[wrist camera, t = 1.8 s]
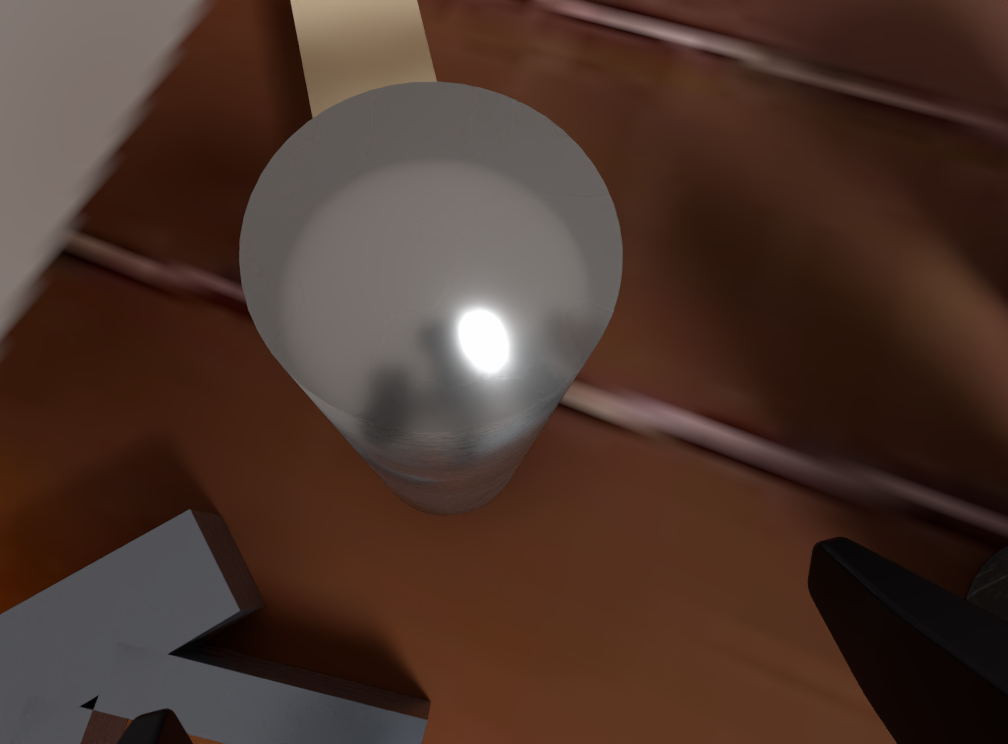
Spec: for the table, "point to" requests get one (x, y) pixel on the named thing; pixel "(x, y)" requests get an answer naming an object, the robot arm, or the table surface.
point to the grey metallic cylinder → (432, 279)
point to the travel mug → (992, 585)
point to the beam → (359, 47)
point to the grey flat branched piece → (173, 656)
